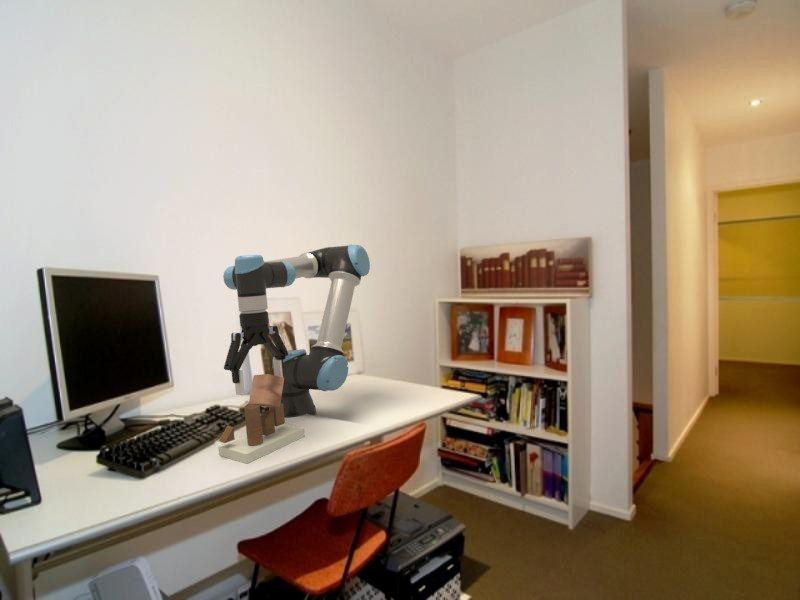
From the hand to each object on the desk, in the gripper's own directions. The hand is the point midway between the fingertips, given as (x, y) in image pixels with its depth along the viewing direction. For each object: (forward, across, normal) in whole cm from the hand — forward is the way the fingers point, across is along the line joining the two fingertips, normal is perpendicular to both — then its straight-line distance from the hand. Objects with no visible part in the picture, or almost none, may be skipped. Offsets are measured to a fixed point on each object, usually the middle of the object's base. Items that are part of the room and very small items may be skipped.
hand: (260, 388), depth 122 cm
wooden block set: (+14, +2, -1) cm, 14 cm away
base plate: (+17, 0, -1) cm, 17 cm away
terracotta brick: (+5, 0, +1) cm, 5 cm away
